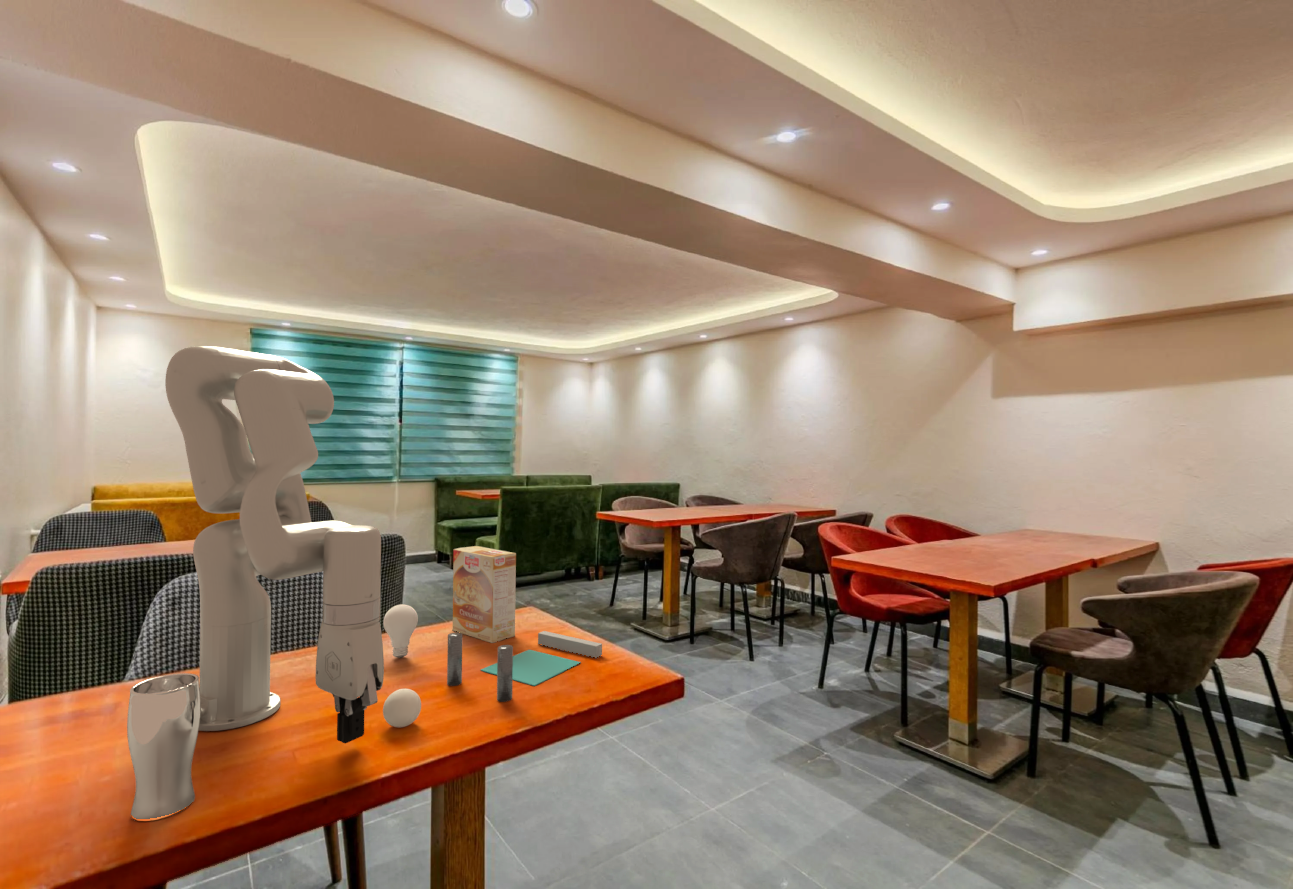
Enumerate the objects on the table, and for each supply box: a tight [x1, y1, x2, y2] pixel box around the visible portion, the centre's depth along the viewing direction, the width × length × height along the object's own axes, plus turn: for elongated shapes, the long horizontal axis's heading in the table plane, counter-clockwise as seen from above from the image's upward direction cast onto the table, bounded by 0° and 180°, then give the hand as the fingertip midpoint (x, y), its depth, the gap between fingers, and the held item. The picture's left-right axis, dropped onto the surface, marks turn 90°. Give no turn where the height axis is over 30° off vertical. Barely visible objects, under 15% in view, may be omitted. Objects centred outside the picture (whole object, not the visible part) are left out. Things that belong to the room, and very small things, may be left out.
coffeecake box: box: [451, 545, 517, 644], centre depth 141 cm, size 15×7×20 cm, turn 53°
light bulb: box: [382, 603, 419, 659], centre depth 125 cm, size 7×7×11 cm
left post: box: [446, 632, 463, 687], centre depth 112 cm, size 3×3×9 cm
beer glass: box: [126, 672, 201, 819], centre depth 73 cm, size 7×7×15 cm
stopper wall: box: [537, 630, 603, 659], centre depth 131 cm, size 2×16×2 cm, turn 59°
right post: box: [496, 644, 514, 703], centre depth 105 cm, size 3×3×9 cm
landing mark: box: [480, 649, 582, 687], centre depth 120 cm, size 14×14×1 cm
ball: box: [382, 688, 422, 728], centre depth 95 cm, size 6×6×6 cm
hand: (350, 738), depth 87 cm, fingers closed
